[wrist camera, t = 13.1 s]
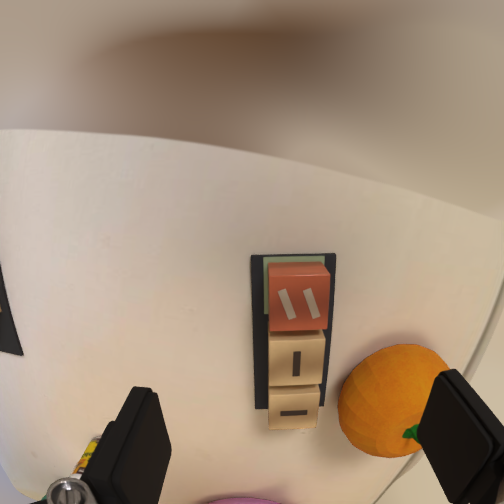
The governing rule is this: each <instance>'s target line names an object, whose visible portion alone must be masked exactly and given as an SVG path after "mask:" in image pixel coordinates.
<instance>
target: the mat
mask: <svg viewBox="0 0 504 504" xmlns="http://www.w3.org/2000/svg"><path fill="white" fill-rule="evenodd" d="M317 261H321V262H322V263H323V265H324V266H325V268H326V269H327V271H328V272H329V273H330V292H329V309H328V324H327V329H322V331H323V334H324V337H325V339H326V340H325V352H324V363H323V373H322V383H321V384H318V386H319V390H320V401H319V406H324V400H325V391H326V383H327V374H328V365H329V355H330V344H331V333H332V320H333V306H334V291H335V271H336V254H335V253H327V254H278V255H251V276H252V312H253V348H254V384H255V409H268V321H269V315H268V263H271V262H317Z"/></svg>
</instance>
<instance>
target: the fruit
mask: <svg viewBox="0 0 504 504" xmlns="http://www.w3.org/2000/svg"><path fill="white" fill-rule="evenodd" d="M445 370H450V368H449V367H448V365H447V364H446V363H445V362H444V361H443V360H442V359H441V358H440V356H439V355H438V354H436V353H435V352H434V351H432V350H430V349H427V348H424V347H422V346H419V345H416V344H397V345H394V346H391V347H387V348H384V349H381V350H379V351H377V352H376V353H374V354H372V355H370V356H369V357H367V358H366V359H364V360H363V361H362V362H361V363H360V364H359V365H358V366H357V367H356V368H355V369H353V371H352V372H351V374H350V375H349V377H348V378H347V380H346V381H345V383H344V385H343V387H342V390H341V393H340V397H339V400H338V414H339V422H340V426H341V429H342V431H343V432H344V434H345V435H346V437H347V438H348V440H349V441H350V442H351V444H352V445H353V446H355V447H356V448H358V449H360V450H361V451H363V452H365V453H367V454H370V455H372V456H378V457H386V458H395V457H402V456H406V455H409V454H412V453H415V452H417V451H418V450H420V449H422V447H421V445H420V443H419V441H418V439H417V434H416V432H417V428H418V425H419V423H420V420H421V417H422V415H423V412H424V409H425V406H426V403H427V400H428V398H429V395H430V391H431V388H432V385H433V382H434V379H435V377H437V376H438V374H439V373H440V372H441V371H445Z"/></svg>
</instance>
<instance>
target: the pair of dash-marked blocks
mask: <svg viewBox="0 0 504 504" xmlns="http://www.w3.org/2000/svg"><path fill="white" fill-rule="evenodd" d="M325 340H326V339H325V337H324V334H323V331H322V329H319V330H296V331H269V321H268V420H269V430H283V429H303V428H316V425H317V417H318V409H319V401H320V390H319V386H318V384H321V383H322V373H323V363H324V352H325Z"/></svg>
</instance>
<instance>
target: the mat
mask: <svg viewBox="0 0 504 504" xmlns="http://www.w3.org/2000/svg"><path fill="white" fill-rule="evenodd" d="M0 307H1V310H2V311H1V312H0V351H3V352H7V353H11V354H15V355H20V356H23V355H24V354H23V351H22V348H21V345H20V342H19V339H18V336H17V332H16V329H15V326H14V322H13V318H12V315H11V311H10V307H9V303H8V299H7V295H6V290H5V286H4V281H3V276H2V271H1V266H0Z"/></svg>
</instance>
